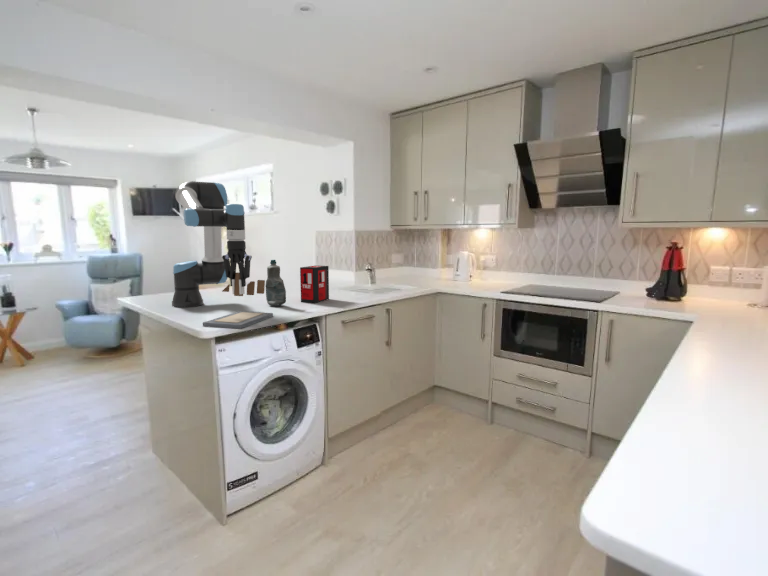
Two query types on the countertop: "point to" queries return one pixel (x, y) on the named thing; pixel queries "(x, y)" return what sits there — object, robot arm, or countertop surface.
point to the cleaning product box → (314, 284)
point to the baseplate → (238, 319)
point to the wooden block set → (249, 286)
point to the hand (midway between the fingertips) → (238, 293)
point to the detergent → (275, 285)
